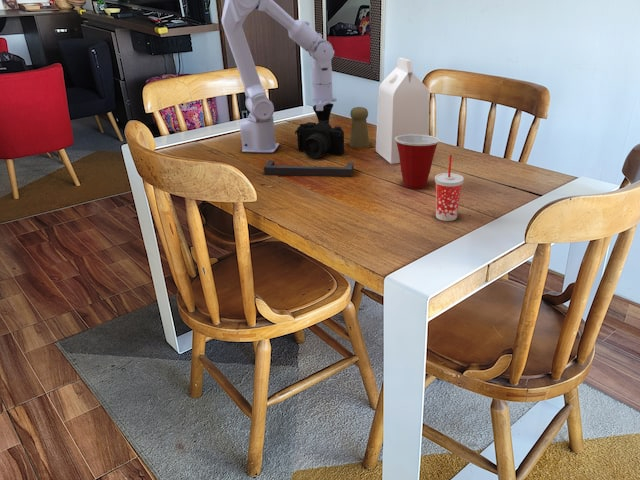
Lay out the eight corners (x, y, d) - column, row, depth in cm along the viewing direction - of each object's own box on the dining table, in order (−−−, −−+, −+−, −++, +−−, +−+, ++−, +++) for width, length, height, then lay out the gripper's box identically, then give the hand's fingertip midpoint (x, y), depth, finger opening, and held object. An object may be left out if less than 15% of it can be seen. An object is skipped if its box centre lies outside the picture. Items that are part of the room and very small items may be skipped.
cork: (369, 147, 169) (369, 110, 164) (349, 147, 169) (348, 110, 164) (369, 141, 174) (369, 105, 169) (349, 141, 174) (349, 105, 169)
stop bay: (264, 174, 150) (263, 167, 149) (269, 167, 155) (268, 160, 154) (351, 176, 148) (351, 169, 147) (353, 169, 153) (353, 162, 152)
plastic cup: (441, 179, 145) (444, 133, 140) (431, 194, 137) (434, 145, 131) (400, 175, 149) (401, 129, 143) (388, 189, 140) (389, 141, 134)
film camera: (286, 156, 162) (284, 125, 158) (301, 146, 170) (299, 116, 166) (336, 162, 158) (335, 130, 153) (348, 152, 166) (348, 121, 161)
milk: (429, 159, 160) (434, 61, 147) (391, 163, 156) (392, 64, 144) (411, 146, 169) (415, 54, 157) (375, 151, 166) (376, 57, 153)
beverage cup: (464, 220, 123) (470, 158, 117) (437, 223, 122) (441, 160, 115) (454, 209, 129) (459, 149, 122) (428, 212, 128) (432, 151, 121)
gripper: (332, 88, 160) (334, 136, 167) (339, 78, 172) (340, 122, 179) (307, 88, 160) (310, 135, 167) (315, 77, 173) (317, 122, 180)
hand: (324, 129), depth 173 cm, fingers closed
